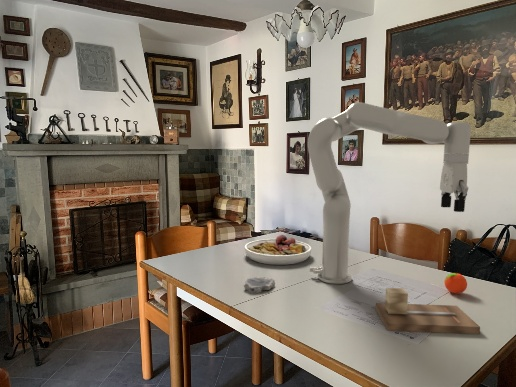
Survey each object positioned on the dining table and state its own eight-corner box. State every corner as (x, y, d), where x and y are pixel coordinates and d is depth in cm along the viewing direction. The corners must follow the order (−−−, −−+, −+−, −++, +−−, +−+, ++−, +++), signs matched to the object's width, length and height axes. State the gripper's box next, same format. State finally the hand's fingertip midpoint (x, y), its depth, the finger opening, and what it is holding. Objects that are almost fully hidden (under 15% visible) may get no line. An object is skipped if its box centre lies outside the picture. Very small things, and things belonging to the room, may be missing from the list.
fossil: (257, 288, 127) (238, 275, 134) (255, 299, 128) (235, 285, 134) (280, 283, 135) (260, 271, 142) (277, 293, 136) (258, 281, 143)
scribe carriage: (388, 313, 108) (389, 293, 107) (385, 307, 112) (385, 287, 111) (408, 314, 108) (410, 293, 107) (404, 308, 112) (405, 288, 111)
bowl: (309, 269, 157) (310, 250, 156) (238, 264, 162) (238, 246, 161) (312, 250, 186) (312, 234, 185) (251, 247, 191) (251, 231, 190)
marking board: (387, 330, 104) (387, 321, 103) (375, 309, 117) (375, 301, 117) (479, 334, 102) (480, 325, 102) (456, 312, 116) (456, 304, 115)
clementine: (451, 298, 127) (453, 277, 126) (436, 290, 133) (437, 270, 133) (471, 295, 129) (472, 275, 128) (455, 288, 136) (457, 269, 135)
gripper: (433, 158, 138) (430, 205, 140) (456, 159, 121) (452, 213, 123) (455, 158, 138) (451, 205, 140) (480, 160, 121) (476, 213, 123)
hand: (452, 209), depth 132 cm, fingers open, 9 cm apart
